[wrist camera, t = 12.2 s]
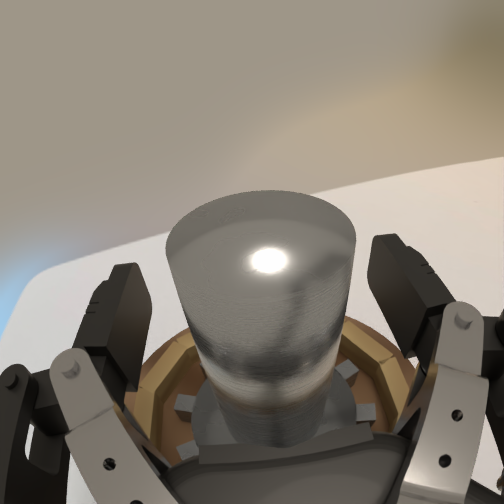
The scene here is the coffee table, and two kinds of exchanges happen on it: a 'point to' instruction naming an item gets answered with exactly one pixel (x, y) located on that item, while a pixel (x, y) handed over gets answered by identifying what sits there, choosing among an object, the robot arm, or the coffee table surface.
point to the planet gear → (266, 319)
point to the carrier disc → (191, 379)
